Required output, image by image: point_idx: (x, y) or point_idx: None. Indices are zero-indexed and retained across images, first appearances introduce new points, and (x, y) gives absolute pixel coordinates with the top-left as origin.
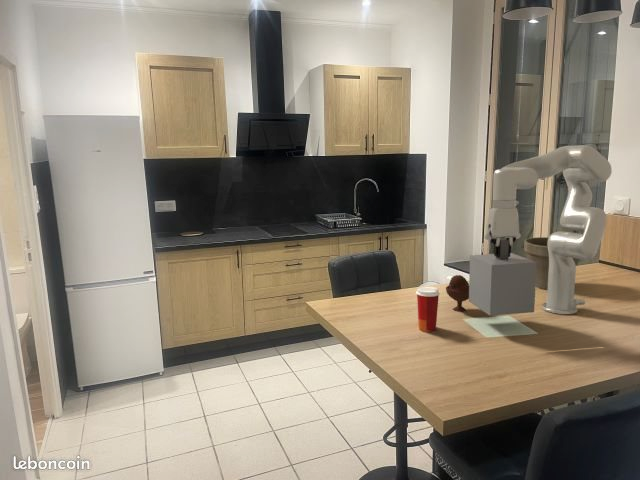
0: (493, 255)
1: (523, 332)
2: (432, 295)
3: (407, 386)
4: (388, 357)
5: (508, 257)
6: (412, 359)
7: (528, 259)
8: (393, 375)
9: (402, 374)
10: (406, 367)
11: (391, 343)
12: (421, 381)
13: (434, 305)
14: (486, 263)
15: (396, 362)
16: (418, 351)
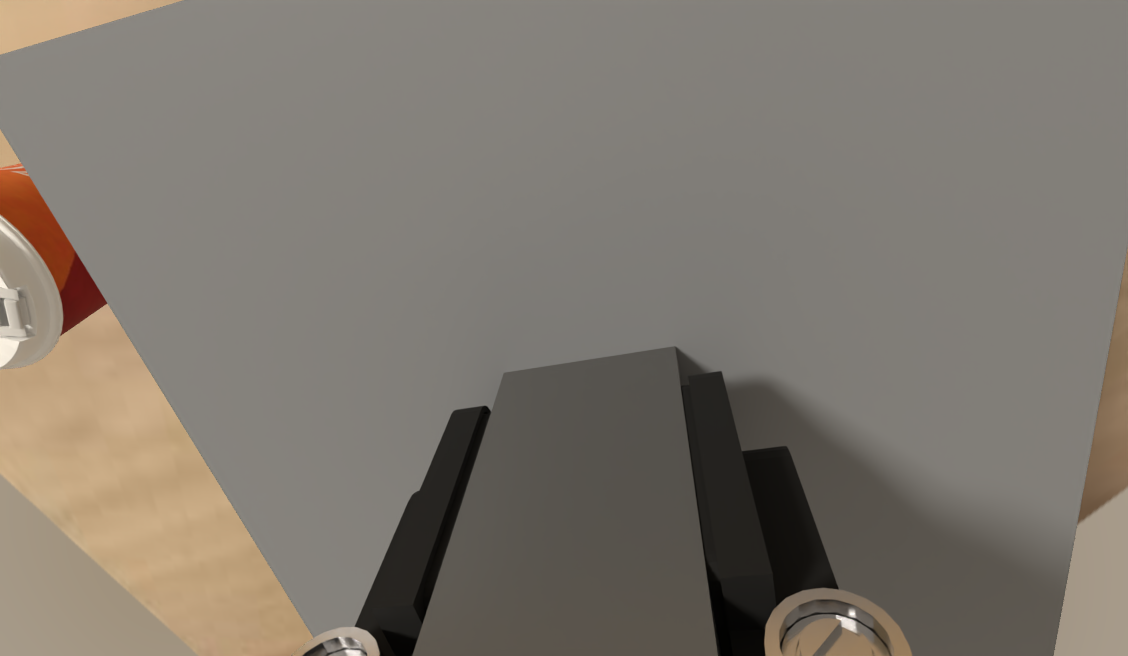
0: (514, 115)
1: None
2: (17, 362)
3: (196, 648)
4: (82, 493)
5: (777, 348)
6: (173, 510)
7: (1062, 530)
8: (140, 598)
9: (165, 595)
10: (167, 558)
11: (46, 375)
12: (231, 629)
13: (97, 309)
14: (311, 616)
15: (123, 528)
16: (182, 450)
